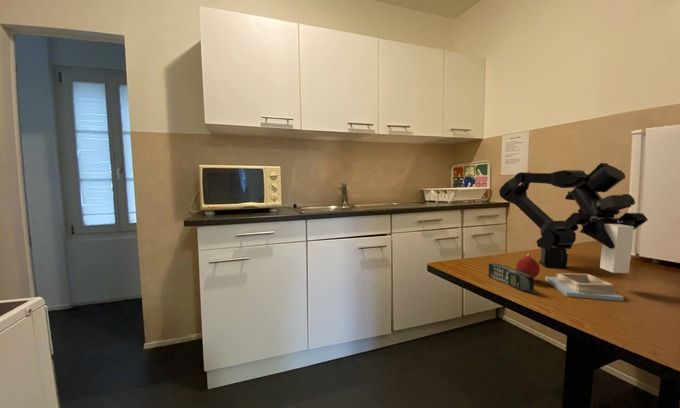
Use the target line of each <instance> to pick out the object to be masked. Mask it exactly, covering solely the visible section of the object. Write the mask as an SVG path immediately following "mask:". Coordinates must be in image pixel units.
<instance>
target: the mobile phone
mask: <svg viewBox="0 0 680 408" xmlns="http://www.w3.org/2000/svg"><path fill="white" fill-rule="evenodd" d="M488 277H489V278H490V279H493V280H495V281H497V282H500V283H501V284H505V286H509V287H511V288H513V289H515V290H518V291H522V292H529V293H531V294H535V295H538V296H539V295H541V293H540V292H539V291H536V290H535V288H534V287H535V278H533V277H532V276H531V275H529V274H526V273H524V272H521V271H519V270H516V268H511V267H509V266H507V265H503V264H499V263H495V262H493V263H489V264H488Z"/></svg>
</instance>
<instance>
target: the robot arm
mask: <svg viewBox="0 0 680 408" xmlns="http://www.w3.org/2000/svg"><path fill="white" fill-rule="evenodd" d="M625 179H626V174H625V173H624V172H623V170H621V169H618V168H617V167H614V166H612V165H610V164H609V163H607V162H600V163H599V164H598V165H597V166H596V167H595V168H594V169H593V170H592V171H591V172H589V174H587V173H586V172H585V171H584V170H580V169H573V170H572V169H563V170H557V171H553V172H548V173H546V172H530V171H525V172H524V171H521V172H518V173H516V174H515V176H514V177H512V178H511V179H509V180H507V181H506V182H505V183H504V184H503V185H502V186H501V187H500V189H499V196H500V198H501V199H503V200H504V201H506V202H507V203H511V204H513V205H515V206H516V207H518V209H519V210H520V211H521V212H522V213H523V214H524V215H525V216H526V217H528V219H530V221H532V222H533V223H534V224H535V225H536V226H537V227H538V228H539V229H540V230H539V231H540V235H541V237H539V238H538V239H537V240H536V241H535V242H536V245H537V247H538V248H540V249H541V250H540V260H538V261H537V263H538V264H541V265H542V266H544V267H545V268H552V269H554V268H555V269H569V267H568V259H569V257H568V256H569V254H568V253H567V250H571V249H572V247H573V244H574V243H575V242H576V239H577V234H576V231H578V229H579V226H578V225H580V226H581V228H582V229H581V230H580V231H579V232H580V233H581V234H584V235H586V236H588V237H590V238H592V239H594V240H596V241H597V242H598V243H601V245H602V244H604V245H605V246H607V247H609V248H610V249H613V248H614V247H615V246H614V244H613V242H612V240H611V238H610V237H609V235H608V234H607V232H606V230H605V229H604V224H623V225H628V226H633V227H634V230H636V229H637V228H639V227H640V226H642V225H643V224H644V223H646V222H647V221H649V219H648V217H646V215H645V214H644V213H643V212H625V213H623V215H621V216H620V217H617V215H618V214H620V213H621V212H620V211H621V210H624V209H626V208H631V207H632V206H633V205H635V204H636V200H635V198H634V197H633V196H632V195H631V194H629V193H627V194H626V193H623V194H612V195H611V194H610V195H608V196H605V197H603V198H602V196H601V195H600V194H599V193H607V192H609V191H610V190H611V189H613V188H614V187H615V186H617V185H618V184H619V183H621V181H623V180H625ZM531 183H532V184H545V185H547V184H548V185H552V186H554V187H557V188H560V189H572V190H571V191H567V194H566V195H565V198H564V199H565V200H568V201H575V203H576V205H577V206H578V207H579V209H577V212H573V213H571V214H570V215H569V216H568V217H567V218H566V219H565V220H554V219H553V218H551V217H550V215H548V214H547V213H546V212H545V211H543V210H542V209H541V208H540V207H539V206H538V205H536V203H535V202H534V201H532V200H531V199H530V198H529V197H528V192H527V191H528V190H529V187H530V184H531Z"/></svg>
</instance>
